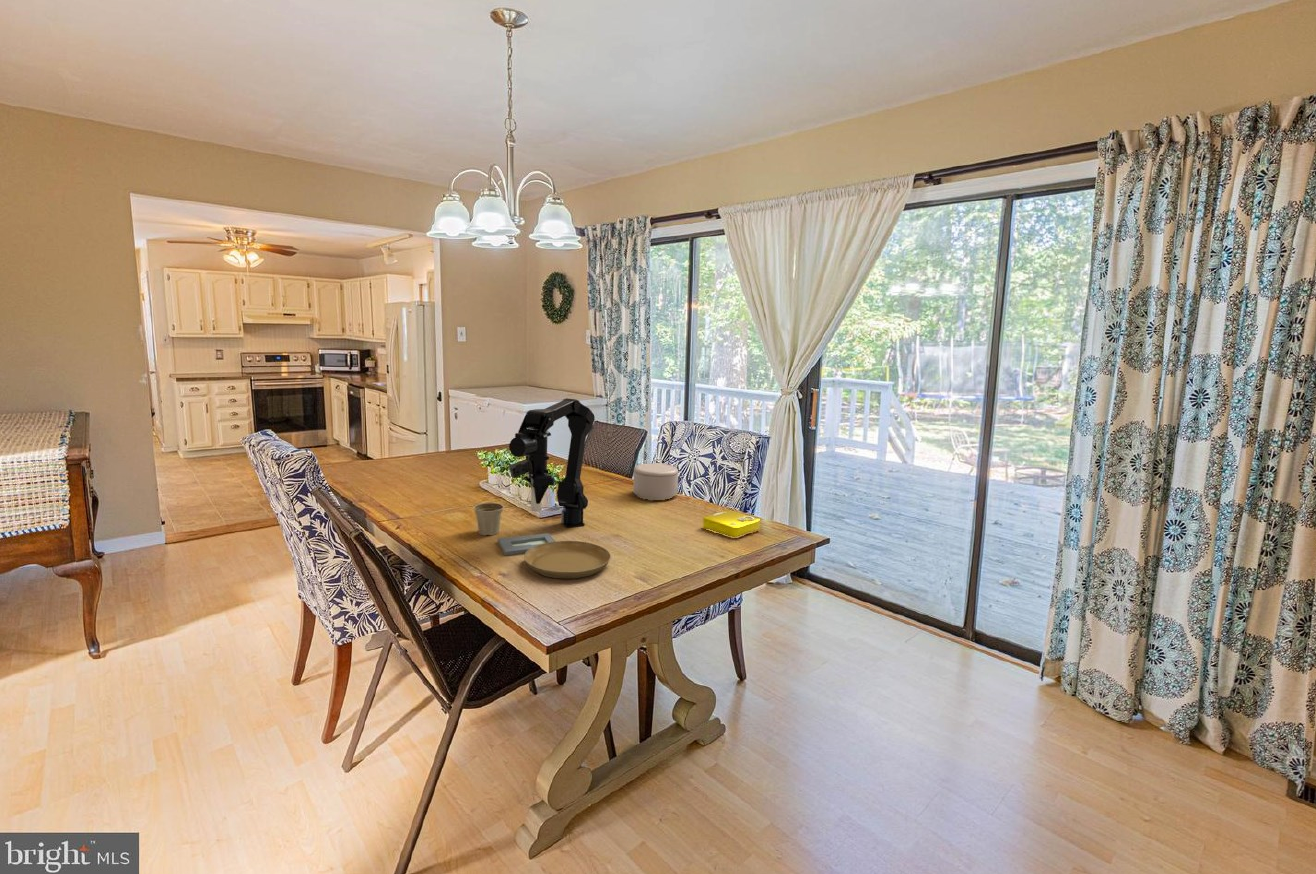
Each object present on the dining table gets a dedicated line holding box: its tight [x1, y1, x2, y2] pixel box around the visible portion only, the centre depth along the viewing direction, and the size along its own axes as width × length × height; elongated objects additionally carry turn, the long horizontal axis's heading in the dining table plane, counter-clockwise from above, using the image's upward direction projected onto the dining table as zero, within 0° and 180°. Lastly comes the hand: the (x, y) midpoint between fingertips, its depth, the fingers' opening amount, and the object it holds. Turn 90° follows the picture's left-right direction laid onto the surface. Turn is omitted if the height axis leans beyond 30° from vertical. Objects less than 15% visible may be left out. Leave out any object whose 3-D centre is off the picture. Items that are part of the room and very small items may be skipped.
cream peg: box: [530, 486, 543, 512], centre depth 189 cm, size 3×3×9 cm
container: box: [632, 462, 679, 501], centre depth 250 cm, size 18×18×12 cm
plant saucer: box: [523, 540, 612, 580], centre depth 175 cm, size 24×24×3 cm
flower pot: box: [472, 502, 505, 536], centre depth 199 cm, size 9×9×9 cm
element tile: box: [702, 509, 761, 537], centre depth 211 cm, size 15×15×5 cm
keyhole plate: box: [497, 532, 556, 557], centre depth 189 cm, size 16×12×1 cm
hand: (536, 502), depth 190 cm, fingers closed on cream peg, 3 cm apart
